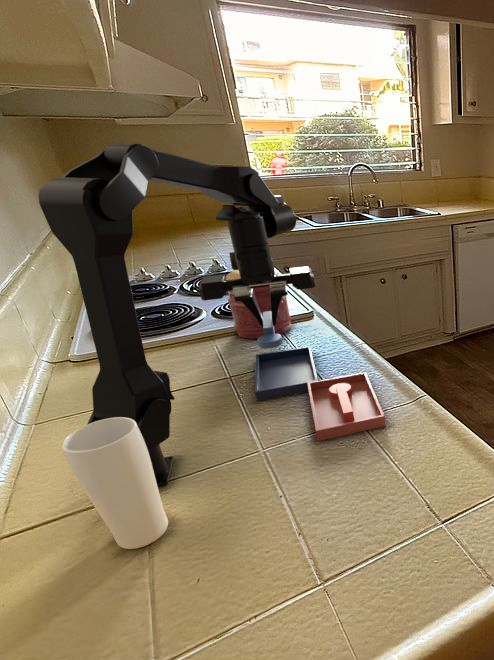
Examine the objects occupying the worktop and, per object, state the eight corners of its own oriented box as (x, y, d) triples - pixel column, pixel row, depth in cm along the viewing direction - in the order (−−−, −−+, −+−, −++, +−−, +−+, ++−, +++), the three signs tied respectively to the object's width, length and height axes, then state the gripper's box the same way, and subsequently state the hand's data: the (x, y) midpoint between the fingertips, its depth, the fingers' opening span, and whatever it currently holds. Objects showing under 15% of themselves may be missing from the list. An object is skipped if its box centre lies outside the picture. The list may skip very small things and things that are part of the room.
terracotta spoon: (362, 421, 78) (360, 409, 77) (337, 427, 76) (335, 415, 75) (350, 386, 89) (348, 375, 87) (328, 390, 87) (326, 379, 86)
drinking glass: (127, 566, 53) (75, 460, 46) (100, 540, 56) (48, 439, 49) (187, 527, 58) (149, 427, 51) (159, 506, 61) (119, 410, 54)
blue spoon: (258, 324, 91) (256, 312, 90) (280, 321, 93) (278, 309, 92) (258, 350, 81) (255, 337, 80) (283, 346, 82) (280, 334, 81)
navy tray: (319, 389, 88) (318, 380, 88) (257, 401, 85) (254, 392, 84) (311, 354, 102) (310, 346, 102) (257, 362, 99) (255, 354, 98)
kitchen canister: (256, 344, 107) (239, 269, 99) (225, 332, 114) (206, 261, 106) (303, 326, 117) (290, 257, 109) (271, 316, 123) (257, 250, 115)
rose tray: (385, 426, 78) (384, 416, 77) (317, 441, 74) (315, 430, 73) (366, 380, 92) (365, 371, 91) (308, 391, 88) (307, 382, 87)
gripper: (303, 230, 91) (316, 305, 98) (195, 239, 84) (217, 318, 91) (308, 242, 82) (321, 324, 89) (187, 252, 75) (212, 340, 82)
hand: (269, 326), depth 88 cm, fingers closed on blue spoon, 2 cm apart
